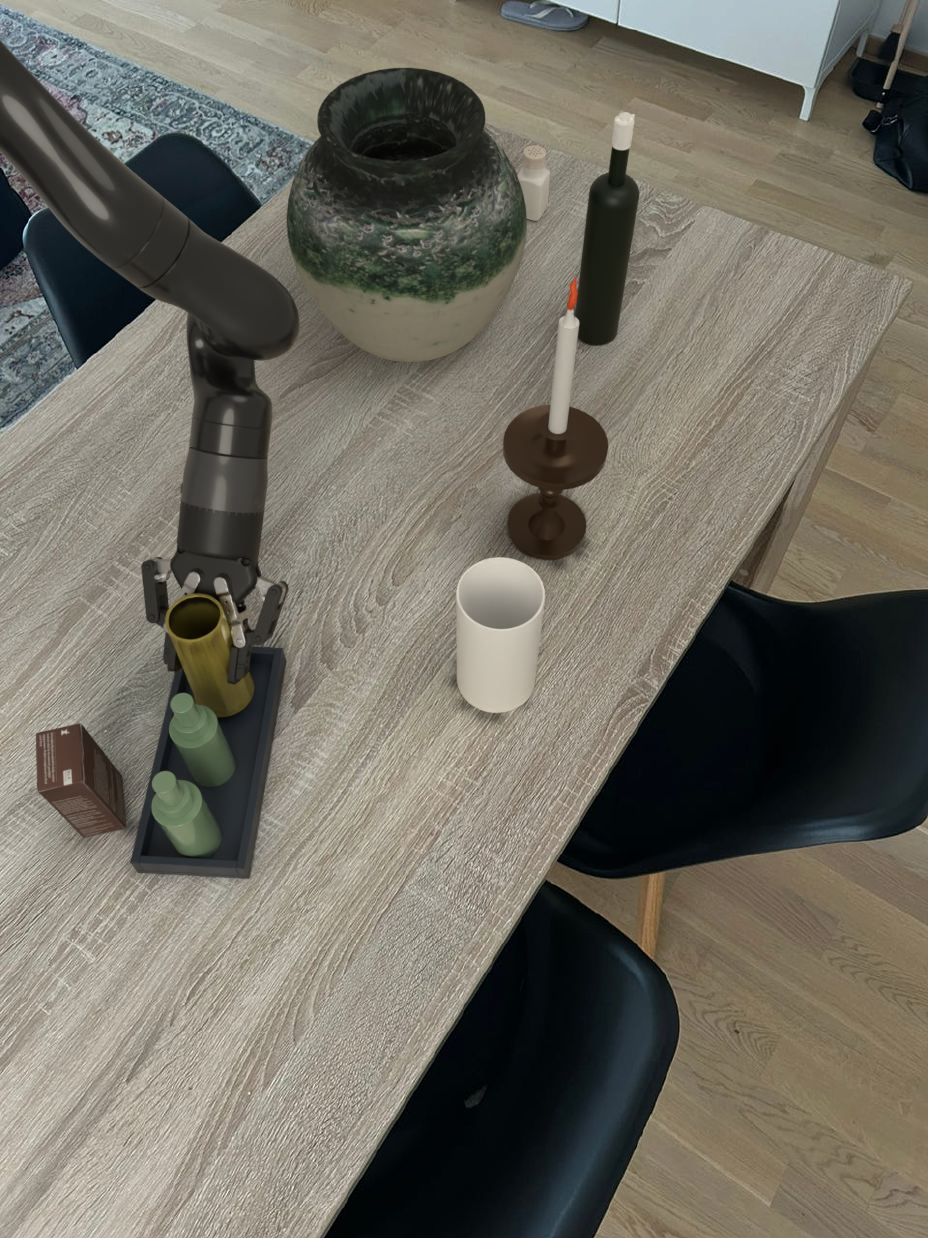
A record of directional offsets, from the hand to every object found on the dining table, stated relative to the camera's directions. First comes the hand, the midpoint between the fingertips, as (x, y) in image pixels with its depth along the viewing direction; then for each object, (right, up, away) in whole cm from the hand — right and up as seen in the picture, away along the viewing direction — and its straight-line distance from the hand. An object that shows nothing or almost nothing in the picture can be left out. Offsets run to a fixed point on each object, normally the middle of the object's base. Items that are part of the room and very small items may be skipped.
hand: (204, 675), depth 99 cm
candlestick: (+34, +16, +21) cm, 43 cm away
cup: (+28, -1, +10) cm, 30 cm away
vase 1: (0, -2, +7) cm, 7 cm away
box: (-11, -13, +2) cm, 17 cm away
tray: (0, -9, +5) cm, 10 cm away
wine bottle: (+42, +43, +38) cm, 71 cm away
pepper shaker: (+34, +64, +51) cm, 89 cm away
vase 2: (+18, +44, +38) cm, 61 cm away
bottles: (0, -12, +1) cm, 13 cm away
